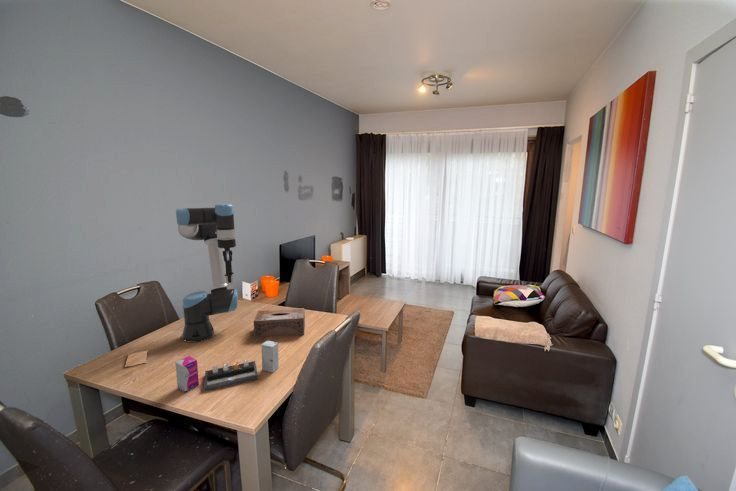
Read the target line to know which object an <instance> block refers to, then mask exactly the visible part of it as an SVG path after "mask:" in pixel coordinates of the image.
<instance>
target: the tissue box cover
mask: <svg viewBox="0 0 736 491" xmlns="http://www.w3.org/2000/svg"><path fill="white" fill-rule="evenodd" d="M305 316H306V315H305V308H304V307H303V308H302V307H301V308H299V307H298V308H283V309H266V310H265V309H264V310H258V311H257V313H256V315H255V317H254V319H253V333H254V335H253V336H254V337H253V338H254V339H264V338H265V339H266V338H279V337H282V338H283V337H294V336H295V337H296V336H297V337H298V336H305V330H306V328H305V327H306V320H305V318H306V317H305Z"/></svg>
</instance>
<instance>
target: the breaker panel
mask: <svg viewBox="0 0 736 491" xmlns="http://www.w3.org/2000/svg"><path fill="white" fill-rule="evenodd" d="M242 362H243V363H239V362H238V361H236V362H233V365H229V363H224V364H222V367H220V368H218V365H215V366H214V365H213V366H212V369H209V370H205V373H204V383H203V384H204V385H203V388H204V392H209V391H213V390H217V389H222V388H226V387H231V386H236V385H239V384H243V383H244V384H245V383H249V382H252V381H256V380H259V375H258V368H257V365H256V361H255V360H254V361H253V360H252V361H249V359H244V360H242Z"/></svg>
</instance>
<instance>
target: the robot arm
mask: <svg viewBox="0 0 736 491" xmlns="http://www.w3.org/2000/svg"><path fill="white" fill-rule="evenodd" d="M234 214H235V210H234V205H233V204H232V203H217V204H215V205H214V207H191V208H189V207H188V208H187V207H183V208H177V209H176V210H175V215H176V216H175V217H176V218H175V219H176V224H177V226H178V227H177V231H178V233H179V234H180V235H181V236H182V237H183V238H185V239H188V240H190V241H191V240H193V241H203V243H204V244H205V245H206V246H207V250H208V251H207V252H208V258H209V265H210V273H211V280H212V288H211V289H210V293H208V292H207V291H205V290H203V291H201V290H199V291H195V292H192V293H190V294H187V295H185V297H183V299H182V309H183V317H184V318H183V320H184V327H183V330H182V334H181V337H182V338H183V339H182V341H183V340H186V341H198V342H202V341H201V340H203V341H205V340H204V339H206V340H207V338H208V339H210V338H211V336H212V337H213V336H214V335H213V334H215V330H214V327H213V325H212V323H211V321H210V316H214V315H215V316H216V315H220V314H221V315H222V314H225V313H230V312H234V311H236V310H237V308H238V303H239V301H238V299H239V298H238V297H239V296H238V290H237V289H235V288H234V282H233V281H234V280H233V279H234V278H233V275H234V271H233V268H232V261H233V251H232V250H231V249H232V248H235V247H236V246H237V242H236V228H235V216H234Z"/></svg>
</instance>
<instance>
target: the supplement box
mask: <svg viewBox="0 0 736 491" xmlns="http://www.w3.org/2000/svg"><path fill="white" fill-rule="evenodd" d="M175 373H176V384H177V385H176V386H177V389H178V388H179V390H180V389H181V390H180V391H182V390H183V391H184V392H183V391H182V392H183V393H187V392H189V391H190V389H191V390H193V389H195V388H196V386H197V387H199V386H198V385H200V380H199V370H198V360H197V359H195V358H193V357H192V356H190V355H188V356H186V357H184V358H181V359H179V360H177V361H175ZM194 387H195V388H194ZM192 388H193V389H192ZM188 390H189V391H188ZM186 391H187V392H186Z"/></svg>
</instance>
